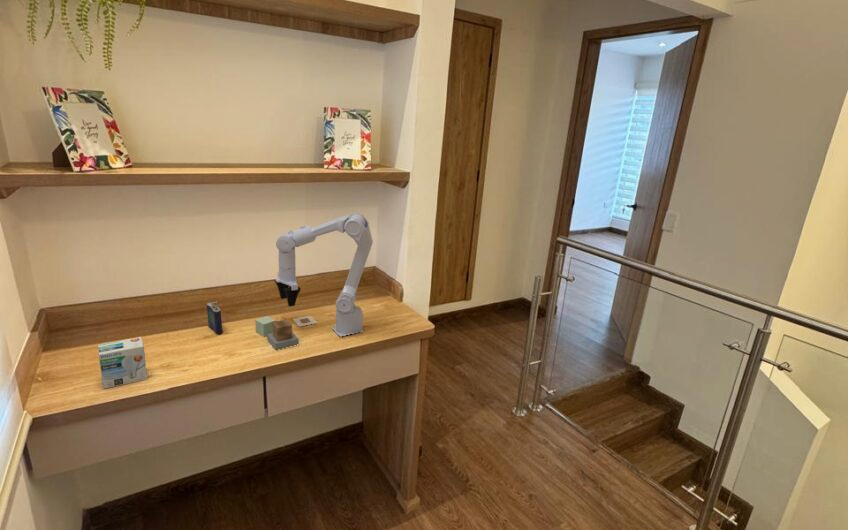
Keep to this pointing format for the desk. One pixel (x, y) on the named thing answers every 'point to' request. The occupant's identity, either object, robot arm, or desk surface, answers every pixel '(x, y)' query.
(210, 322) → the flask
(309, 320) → the placard
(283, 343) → the slate slab
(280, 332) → the walnut block
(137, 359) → the light bulb box
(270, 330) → the sage block
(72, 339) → the desk surface
